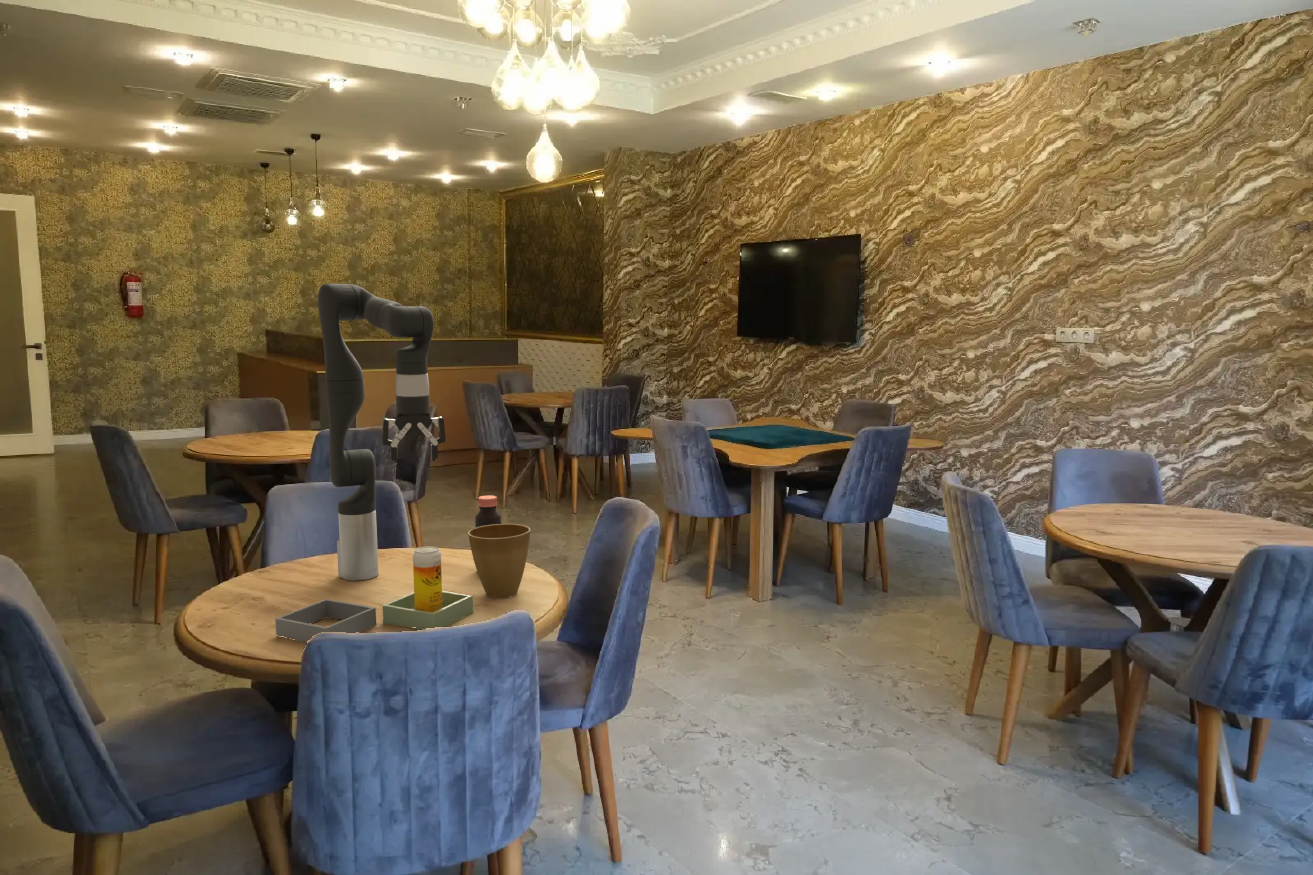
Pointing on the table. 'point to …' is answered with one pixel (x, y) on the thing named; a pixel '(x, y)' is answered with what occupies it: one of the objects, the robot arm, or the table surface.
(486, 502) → the bottle
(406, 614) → the olive bin
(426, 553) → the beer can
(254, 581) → the table surface
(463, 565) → the table surface
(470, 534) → the plant pot
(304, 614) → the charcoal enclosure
